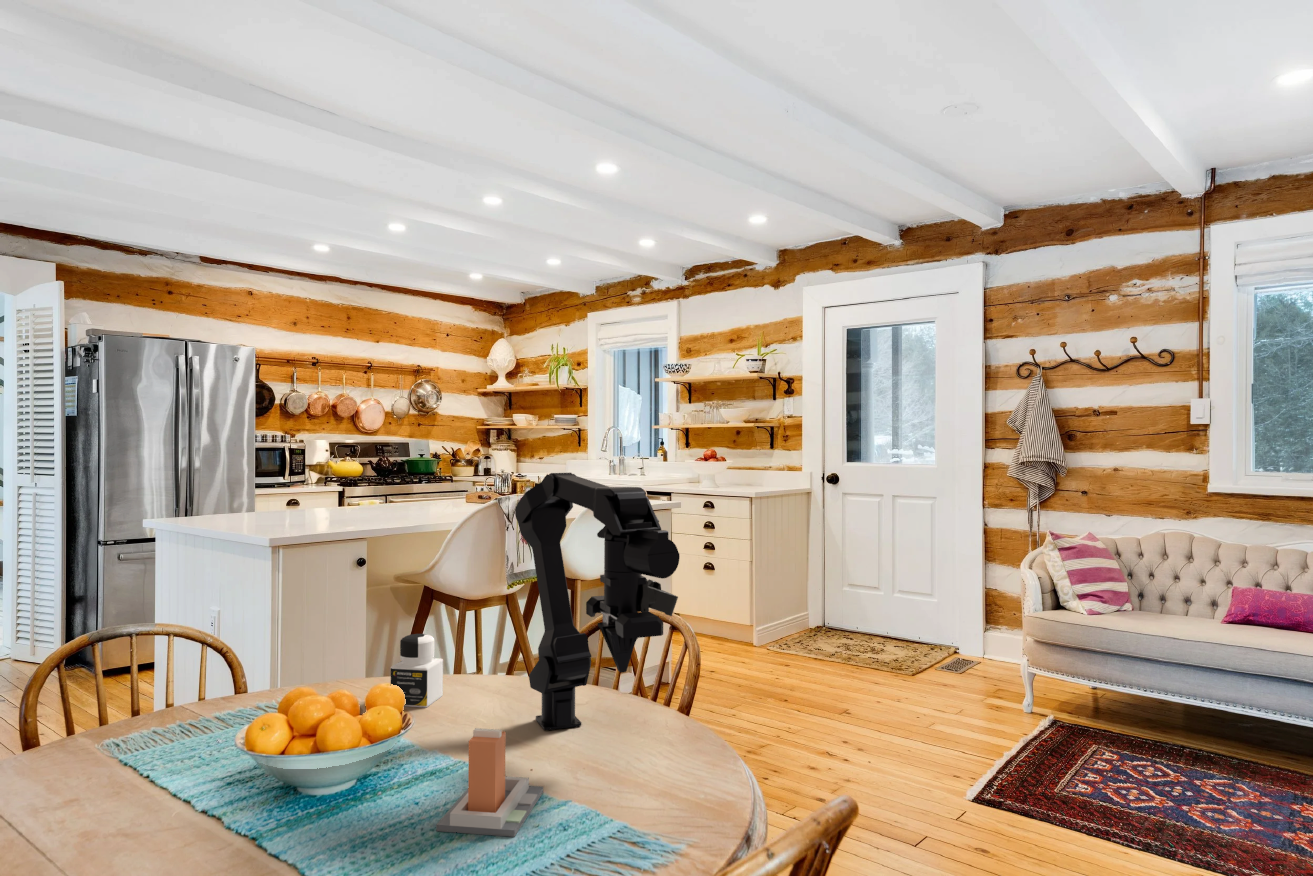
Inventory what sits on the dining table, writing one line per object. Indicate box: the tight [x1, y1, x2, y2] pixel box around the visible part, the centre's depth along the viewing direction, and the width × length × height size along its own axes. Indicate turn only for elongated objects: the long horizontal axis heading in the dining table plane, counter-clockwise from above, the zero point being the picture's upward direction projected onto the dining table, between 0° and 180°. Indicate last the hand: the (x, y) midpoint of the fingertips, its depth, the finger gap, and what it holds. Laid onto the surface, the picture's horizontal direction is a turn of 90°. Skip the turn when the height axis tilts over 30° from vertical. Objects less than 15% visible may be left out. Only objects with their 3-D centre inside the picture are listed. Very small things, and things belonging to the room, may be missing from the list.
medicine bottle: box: [390, 633, 444, 709], centre depth 155 cm, size 7×7×12 cm
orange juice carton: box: [467, 727, 507, 813], centre depth 108 cm, size 4×4×10 cm
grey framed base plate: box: [435, 775, 544, 838], centre depth 110 cm, size 13×10×2 cm
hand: (622, 671), depth 129 cm, fingers closed
